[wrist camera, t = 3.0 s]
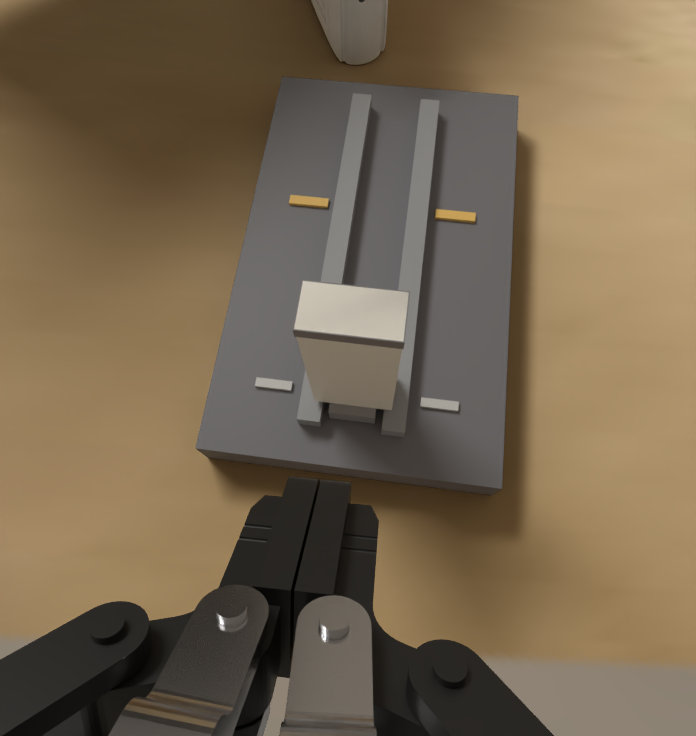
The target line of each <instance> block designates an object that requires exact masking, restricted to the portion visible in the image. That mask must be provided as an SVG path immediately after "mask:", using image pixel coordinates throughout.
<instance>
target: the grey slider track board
mask: <svg viewBox="0 0 696 736" xmlns="http://www.w3.org/2000/svg"><path fill="white" fill-rule="evenodd" d="M517 120H518V96H514V95H502V94H489V93H477V92H465V91H453V90H441V89H428V88H416V87H404V86H392V85H380V84H367V83H355V82H343V81H331V80H318V79H306V78H294V77H282V79H281V83H280V87H279V92H278V96H277V100H276V104H275V109H274V113H273V117H272V122H271V126H270V130H269V135H268V139H267V143H266V147H265V152H264V156H263V160H262V165H261V169H260V173H259V177H258V182H257V186H256V190H255V195H254V199H253V203H252V207H251V212H250V216H249V220H248V225H247V229H246V233H245V238H244V242H243V246H242V250H241V255H240V259H239V263H238V268H237V272H236V276H235V280H234V285H233V289H232V293H231V298H230V302H229V306H228V311H227V315H226V319H225V323H224V328H223V332H222V336H221V341H220V345H219V349H218V353H217V358H216V362H215V366H214V371H213V375H212V379H211V383H210V388H209V392H208V396H207V401H206V405H205V409H204V414H203V418H202V422H201V426H200V431H199V435H198V439H197V444H196V449H197V450H198V451H200V452H201V453H202V454H204V455H205V456H206V457H208V458H215V459H222V460H230V461H237V462H245V463H252V464H260V465H267V466H275V467H282V468H290V469H297V470H305V471H312V472H320V473H327V474H335V475H342V476H350V477H357V478H365V479H372V480H380V481H387V482H395V483H402V484H410V485H417V486H425V487H433V488H440V489H448V490H455V491H463V492H470V493H478V494H485V495H493V494H495V493H496V492H498V491H499V490H501V489H502V480H503V456H504V432H505V408H506V384H507V360H508V336H509V312H510V288H511V264H512V240H513V216H514V192H515V168H516V144H517ZM302 280H310V281H320V282H329V283H338V284H347V285H357V286H366V287H375V288H384V289H393V290H403V291H410V299H409V308H408V317H407V326H406V335H405V344H404V349H402V353H401V359H400V365H399V371H398V377H397V382H396V388H395V394H394V400H393V406H392V410H384V409H376V417H375V424H372V423H364V422H356V421H348V420H340V419H332V418H330V417H329V413H328V411H329V405H330V403H328V402H319V401H314V397H313V394H312V390H311V387H310V383H309V380H308V376H307V373H306V369H305V366H304V362H303V359H302V355H301V352H300V348H299V345H298V341H297V338H296V337H294V334H293V324H294V319H295V314H296V308H297V303H298V298H299V292H300V287H301V282H302Z"/></svg>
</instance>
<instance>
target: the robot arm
mask: <svg viewBox="0 0 696 736" xmlns="http://www.w3.org/2000/svg"><path fill="white" fill-rule="evenodd" d="M350 500H351V482H344V481H334V480H323V479H322V480H321V482H320V480H319V479H312V478H301V477H291V476H290V477H289V478H288V481H287V484H286V487H285V490H284V493H283V496H282V497H278V496H268V495H265V496H264V497H263V498H262V499H261V500H259V501H258V502H257V503H256V504H255V505H254V506H253V507H252V508H251V510H250V512H249V514H248V517H247V519H246V522H245V526H244V527H243V529H242V532H241V534H240V538H239V540H238V541H237V544H236V546H235V549H234V551H233V554H232V556H231V559H230V561H229V564H228V566H227V569H226V571H225V573H224V576H223V578H222V581H221V583H220V586H219V588H218V589H215V590H213V591H212V592H210V593H208V594H207V595H206V596H205V597H204V598H203V599H202V600H201V601H200V602H199V604H198V605H197V607H196V609H195V611H193V612H190V613H188V614H185V615H181V616H176V617H171V618H164V619H158V620H152V621H149V618H148V615H147V613H146V612H145V610H144V609H142V608H141V607H140V606H138V605H136V604H134V603H131V602H123V601H118V602H110V603H106V604H103V605H100V606H97V607H95V608H93V609H91V610H89V611H87V612H86V613H84V614H82V615H80V616H78V617H77V618H75V619H73V620H71V621H69V622H68V623H66V624H64V625H62V626H60V627H59V628H57V629H55V630H53V631H51V632H50V633H48V634H46V635H44V636H42V637H40V638H39V639H37V640H35V641H33V642H31V643H30V644H28V645H26V646H24V647H22V648H21V649H19V650H17V651H15V652H13V653H12V654H10V655H8V656H6V657H4V658H3V659H1V660H0V736H263V734H264V730H265V727H266V724H267V721H268V717H269V713H270V702H271V699H272V695H273V691H274V687H275V683H276V679H277V677H286V678H290V682H289V689H288V696H287V705H286V712H285V719H284V722H282V724H281V728H280V734H279V736H554V735H553V734H552V733H551V732H550V731H549V730H548V729H547V728H546V727H545V726H544V725H543V724H542V723H541V722H540V720H539V719H538V718H537V717H536V716H535V715H534V714H533V713H532V712H531V711H530V710H529V709H528V708H527V707H526V706H525V705H524V704H523V703H522V701H521V700H520V699H518V697H517V696H516V695H515V694H514V693H513V692H512V691H511V690H510V689H509V688H508V687H507V686H506V685H505V684H504V683H503V681H502V680H500V678H499V677H498V676H497V675H496V674H495V673H494V672H493V671H492V670H491V669H490V668H489V667H488V666H487V665H486V663H485V662H484V661H483V660H482V659H481V658H480V657H479V656H478V655H477V654H476V653H475V652H474V651H472V650H471V649H469V648H468V647H466V646H464V645H462V644H460V643H457V642H455V641H450V640H433V641H429V642H426V643H424V644H422V645H421V646H419V647H418V648H417V649H415V648H413V647H411V646H408V645H406V644H404V643H401V642H399V641H397V640H395V639H394V638H392V637H391V636H389V635H388V634H387V633H386V632H385V631H384V630H383V629H382V628H381V627H380V626H379V624H378V622H377V621H376V618H375V616H374V612H373V593H374V579H375V565H376V551H377V537H378V523H379V520H378V519H377V517H376V515H375V513H374V511H373V509H372V507H371V506H370V505H360V504H350Z"/></svg>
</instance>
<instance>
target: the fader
mask: <svg viewBox="0 0 696 736" xmlns="http://www.w3.org/2000/svg"><path fill="white" fill-rule="evenodd" d="M409 299H410V291H403V290H393V289H384V288H375V287H366V286H357V285H347V284H338V283H329V282H320V281H310V280H302V282H301V287H300V292H299V298H298V303H297V308H296V314H295V319H294V324H293V334H294V337H296V338H297V341H298V345H299V348H300V352H301V355H302V359H303V362H304V366H305V369H306V373H307V376H308V380H309V383H310V387H311V390H312V394H313V397H314V401H319V402H328V403H330V405H329V411H328V413H329V417H330V418H332V419H340V420H348V421H356V422H364V423H372V424H375V417H376V409H384V410H392V406H393V400H394V394H395V388H396V382H397V377H398V371H399V365H400V359H401V353H402V349H404V344H405V335H406V326H407V317H408V308H409Z"/></svg>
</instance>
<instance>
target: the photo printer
mask: <svg viewBox="0 0 696 736" xmlns="http://www.w3.org/2000/svg"><path fill="white" fill-rule="evenodd" d="M311 2H312V4H313V6H314V9H315V11H316V14H317V16H318V18H319V21H320V23H321V26H322V28H323V30H324V32H325V35H326V37H327V39H328V41H329V43H330V45H331V47H332V49H333V51H334V53H335V55H336V56H337V58H338V59H339V60H340V61H345V62H346V63H347V64H351V65H360V64H365V63H368V62H370V61H372V60H374V59H376V58H377V57H378V56H379V54H380V52H381V51H384V49H385V44H386V32H387V14H388V0H311Z"/></svg>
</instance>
